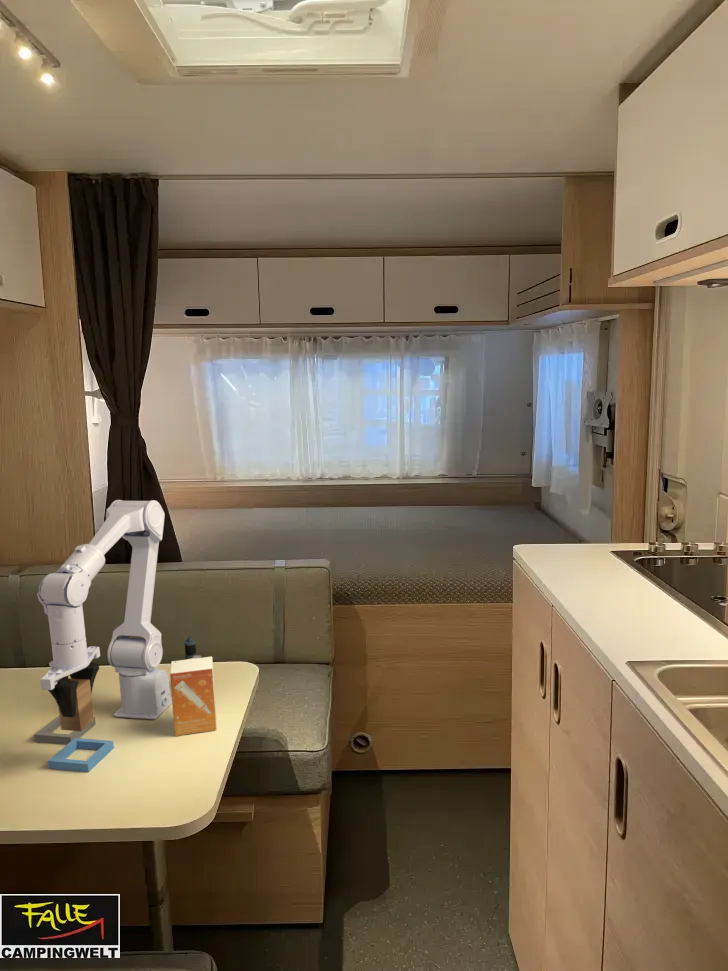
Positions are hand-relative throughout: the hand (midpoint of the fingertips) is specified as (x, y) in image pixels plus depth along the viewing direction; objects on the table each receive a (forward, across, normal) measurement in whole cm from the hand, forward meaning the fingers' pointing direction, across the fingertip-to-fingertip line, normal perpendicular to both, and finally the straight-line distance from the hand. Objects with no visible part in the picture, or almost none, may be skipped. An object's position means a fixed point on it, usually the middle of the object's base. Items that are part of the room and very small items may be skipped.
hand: (76, 709), depth 126 cm
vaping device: (+10, -29, +9) cm, 32 cm away
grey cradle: (+10, -8, -9) cm, 15 cm away
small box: (+10, -14, +16) cm, 23 cm away
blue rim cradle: (+10, 0, 0) cm, 10 cm away
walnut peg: (+3, 0, 0) cm, 3 cm away
